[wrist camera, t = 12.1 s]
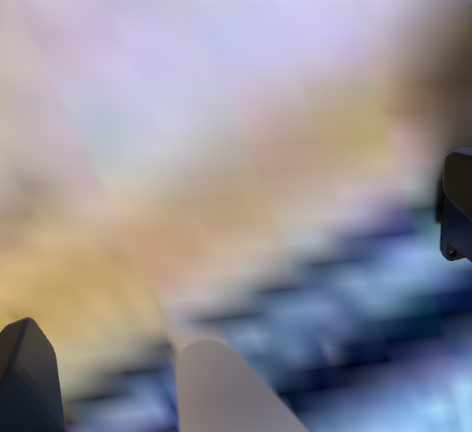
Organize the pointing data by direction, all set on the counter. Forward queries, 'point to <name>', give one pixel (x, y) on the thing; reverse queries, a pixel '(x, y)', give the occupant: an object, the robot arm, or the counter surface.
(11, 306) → the counter surface
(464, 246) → the robot arm
